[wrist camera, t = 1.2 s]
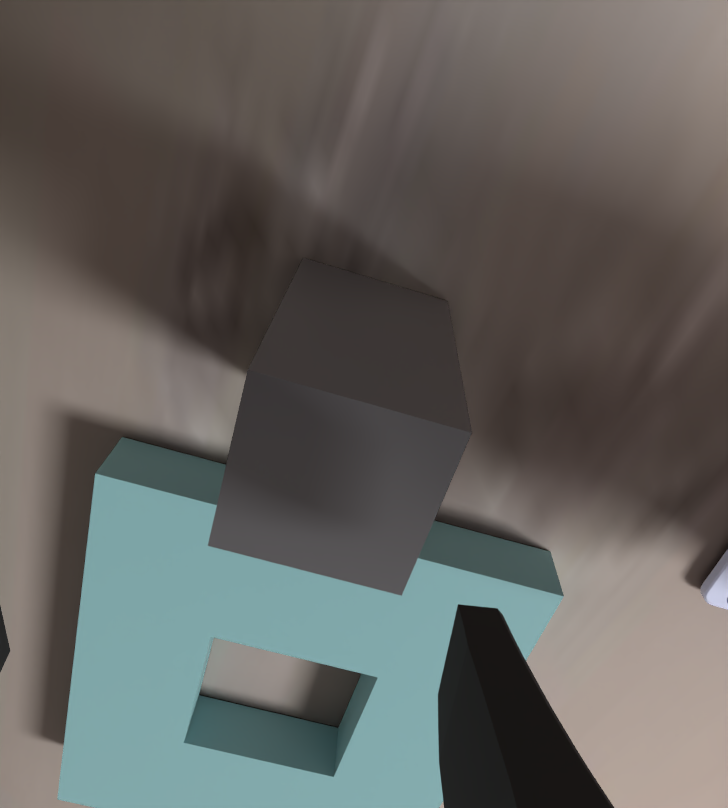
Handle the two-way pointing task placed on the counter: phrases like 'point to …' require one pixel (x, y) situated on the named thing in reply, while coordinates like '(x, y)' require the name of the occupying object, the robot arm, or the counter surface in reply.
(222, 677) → the counter surface
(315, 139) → the counter surface
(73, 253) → the counter surface
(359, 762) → the socket plate
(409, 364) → the plug
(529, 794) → the robot arm
